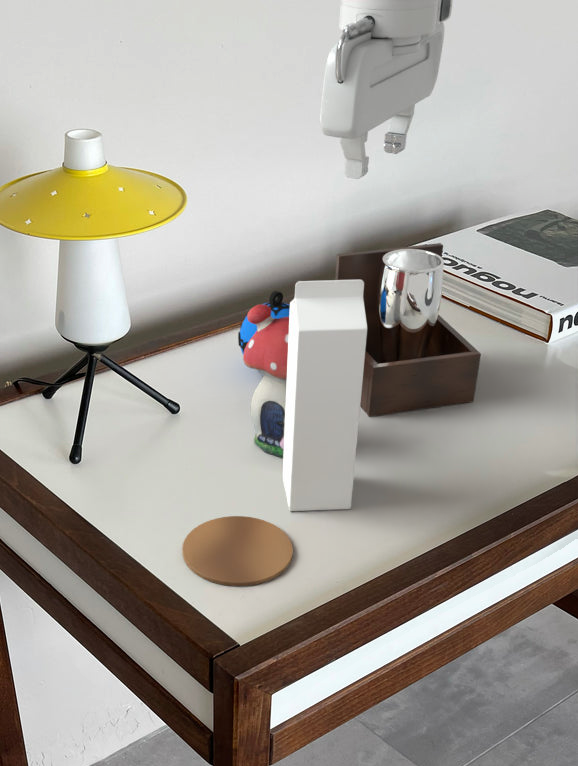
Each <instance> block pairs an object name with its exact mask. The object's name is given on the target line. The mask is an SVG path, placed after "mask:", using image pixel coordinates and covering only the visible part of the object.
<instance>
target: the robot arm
mask: <svg viewBox="0 0 578 766" xmlns="http://www.w3.org/2000/svg"><path fill="white" fill-rule="evenodd" d="M339 2H340V3H339V18H338V19H339V20H338V29H339V31H340V32H342V34H341V36H340V39H339V41H337V42H336V44H334V45H333V46H332V48H331V49H330V51H329V53H328V54H327V55H328V56H327V59H326V63H325V68H324V73H323V74H324V75H323V76H324V77H323V82H322V92H321V99H320V101H321V102H320V103H321V104H320V111H319V125H320V128H321V132H322V134H323V135H324V136H326V137H332V138H340V140H339V141H340V145H341V150H342V152H343V156H344V159H345V162H344V175H345V177H347V178H349V179H354V180H355V179H356V180H359V179H361V178H363V177H365V176H366V175H367V173H368V172H369V162H370V156H367V155H366V144H365V143H367V142H368V136H369V135H368V134H369V132H370V131H371V130H373V129H375V128H377V127H378V126H381V124H384V123H385V122H387V121H389V124H388V130H387V132H386V133H385V134H384V143H383V150H384V152H385V153H387V154H393V155H398V154H399V153H401V152H403V151H404V150H405V149H406V145H407V136H408V132H409V130H410V126H411V124H412V121H413V118H414V115H415V107H416V105H417V104H418V103H420V102H422V101H423V100H425V99H427V98H428V97H430V96H431V95H432V93H433V91H434V89H435V86H436V83H437V80H438V75H439V70H440V64H441V58H442V53H443V47H444V38H445V24H444V22H447V21H448V20H449V19H450V17H451V16H452V11H453V2H454V1H453V0H339Z"/></svg>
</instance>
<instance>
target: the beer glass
mask: <svg viewBox="0 0 578 766" xmlns="http://www.w3.org/2000/svg"><path fill="white" fill-rule="evenodd" d="M444 265H445V260H444V258H443V256H442V257H440V256H439V255H437V254H435V253H432V252H429V251H425V250H419V249H400V250H394V251H391V252H388V253H387V254H385V255H384V256H383V261H382V267H381V272H380V278H379V284H378V291H377V305H376V306H377V325H378V336H379V357H378V362H377V364H381V363H389V362H396V361H404V360H412V359H419V358H426V353H427V349H428V345H429V342H430V339H431V336H432V333H433V330H434V327H435V324H436V321H437V317H438V314H439V313H440V308H441V302H442V295H443V286H444V285H443V283H444Z"/></svg>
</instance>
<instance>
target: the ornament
mask: <svg viewBox="0 0 578 766" xmlns="http://www.w3.org/2000/svg"><path fill="white" fill-rule="evenodd" d="M268 300H269V302H266V303H265V302H264V304H265V305H268V306H269V307H270V308H271V317H272V318H276V319H278V318H284V317H289V315H290V303H289V304H288V303H285V302H283V300H284V294H283V292H281V291H279V290H274V291H273V292H272V293H270V295H269V299H268ZM256 331H257V325H256V324H253V323H251V322H249V321H248V319H247V315H246V316H245V317H244V320H243V321H242V323H241V324H240V328H239V331H238V334H237V339H238V340H237V343H238V347H240V350H241V353H242V355H243V354H244V350H245V347H246V345H247V343H248V342H249V340H250V339H251V338H252V337H253V335H254V334H255V333H256Z"/></svg>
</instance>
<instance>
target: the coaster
mask: <svg viewBox="0 0 578 766" xmlns="http://www.w3.org/2000/svg"><path fill="white" fill-rule="evenodd" d="M181 551H182V558H183V561H184V562H185V564H186V566H187V567H188V568H189V570H190V571H191V572H192V573H193V574H195V575H197V576H198V577H200V578H201V579H202V580H206V581H208V582H211V583H214V584H217V585H222V586H230V587H249V586H256V585H260V584H263V583H267V582H269V581H271V580H273V579H275V578H277V577H279V576H280V575H281V574H282V573H284V572H285V571H286V570H287V569H288V567H289V566H290V565H291V562H292V561H293V556H294V547H293V543H292V541H291V539H290V537H289V536H288V534H287V533H286V532H285V531H284V530H282V528H280V527H279V526H277V525H276V524H274V523H271V522H270V521H267V520H264V519H261V518H257V517H252V516H243V515H230V516H221V517H217V518H213V519H209V520H207V521H205V522H203V523H201V524H199V525H197V526H196V527H194V528H193V529H192V530H190V532H189V533H188V534H187V535H186V537H185V538H184V541H183V542H182V549H181Z"/></svg>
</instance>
